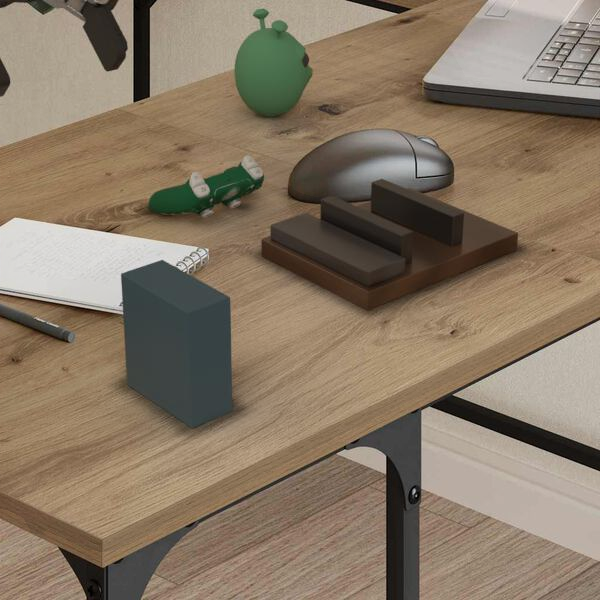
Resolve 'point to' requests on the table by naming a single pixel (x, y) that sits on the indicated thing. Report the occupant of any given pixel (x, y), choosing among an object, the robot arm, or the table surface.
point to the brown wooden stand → (384, 244)
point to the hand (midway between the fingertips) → (61, 77)
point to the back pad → (177, 342)
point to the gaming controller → (209, 191)
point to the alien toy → (271, 68)
